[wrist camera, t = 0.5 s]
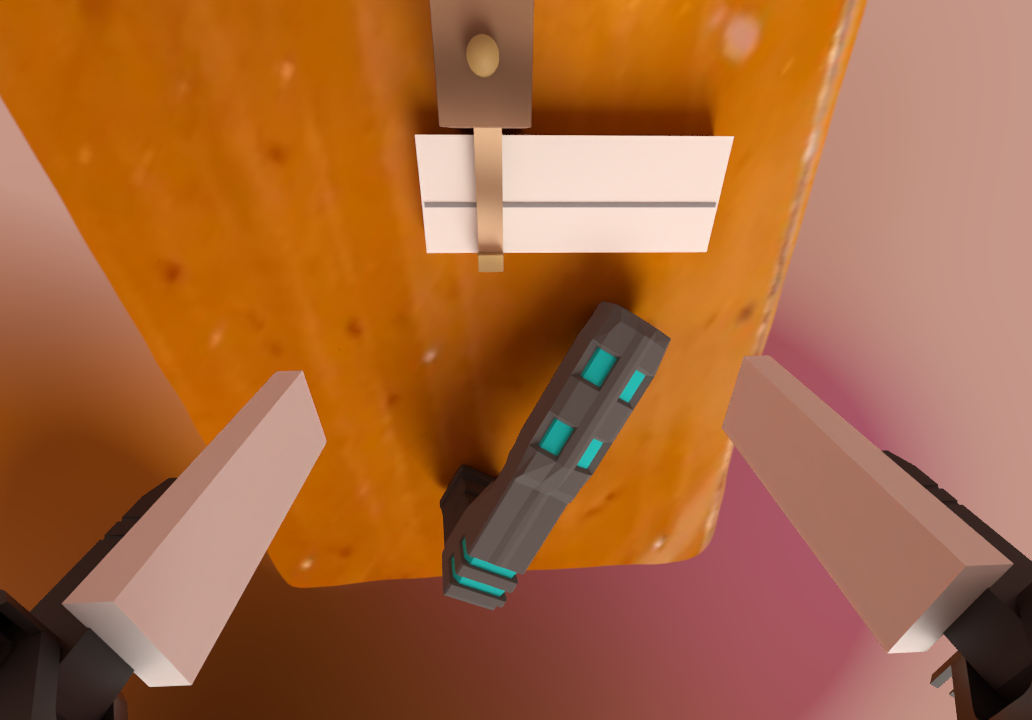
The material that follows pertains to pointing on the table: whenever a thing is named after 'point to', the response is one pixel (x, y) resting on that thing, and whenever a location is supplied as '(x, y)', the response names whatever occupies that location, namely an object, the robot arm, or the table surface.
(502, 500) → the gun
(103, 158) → the table surface
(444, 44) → the brown wooden clamp
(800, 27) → the table surface
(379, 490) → the table surface
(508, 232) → the board
